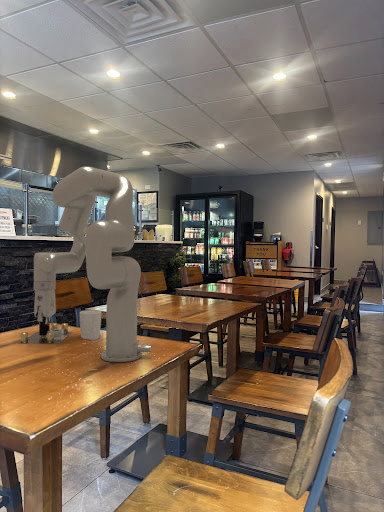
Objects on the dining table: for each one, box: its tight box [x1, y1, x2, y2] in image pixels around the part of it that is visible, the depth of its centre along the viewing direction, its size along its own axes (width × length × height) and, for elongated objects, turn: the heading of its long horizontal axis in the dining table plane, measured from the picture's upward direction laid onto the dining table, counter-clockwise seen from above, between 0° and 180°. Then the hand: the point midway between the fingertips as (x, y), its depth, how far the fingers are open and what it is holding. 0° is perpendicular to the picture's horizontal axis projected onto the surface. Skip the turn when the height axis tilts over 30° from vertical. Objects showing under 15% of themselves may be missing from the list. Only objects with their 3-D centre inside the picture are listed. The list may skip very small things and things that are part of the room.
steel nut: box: [48, 328, 64, 339], centre depth 138 cm, size 5×6×2 cm
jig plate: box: [18, 322, 74, 345], centre depth 137 cm, size 14×18×4 cm
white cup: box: [79, 309, 102, 341], centre depth 139 cm, size 8×8×10 cm
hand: (44, 334), depth 137 cm, fingers closed
